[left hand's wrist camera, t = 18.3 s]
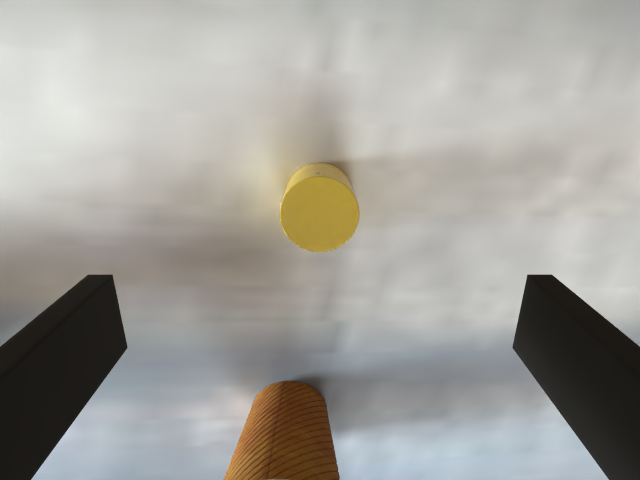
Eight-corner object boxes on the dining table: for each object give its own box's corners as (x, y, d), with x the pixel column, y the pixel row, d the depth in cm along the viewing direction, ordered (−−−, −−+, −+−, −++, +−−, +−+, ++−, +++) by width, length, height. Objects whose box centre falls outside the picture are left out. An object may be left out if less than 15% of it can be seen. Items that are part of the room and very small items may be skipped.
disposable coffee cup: (324, 463, 36) (326, 632, 25) (221, 437, 35) (174, 602, 24) (362, 381, 33) (385, 534, 22) (250, 350, 32) (212, 493, 21)
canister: (338, 237, 29) (341, 262, 25) (276, 215, 28) (269, 237, 24) (363, 176, 27) (371, 192, 23) (298, 152, 27) (294, 164, 22)
